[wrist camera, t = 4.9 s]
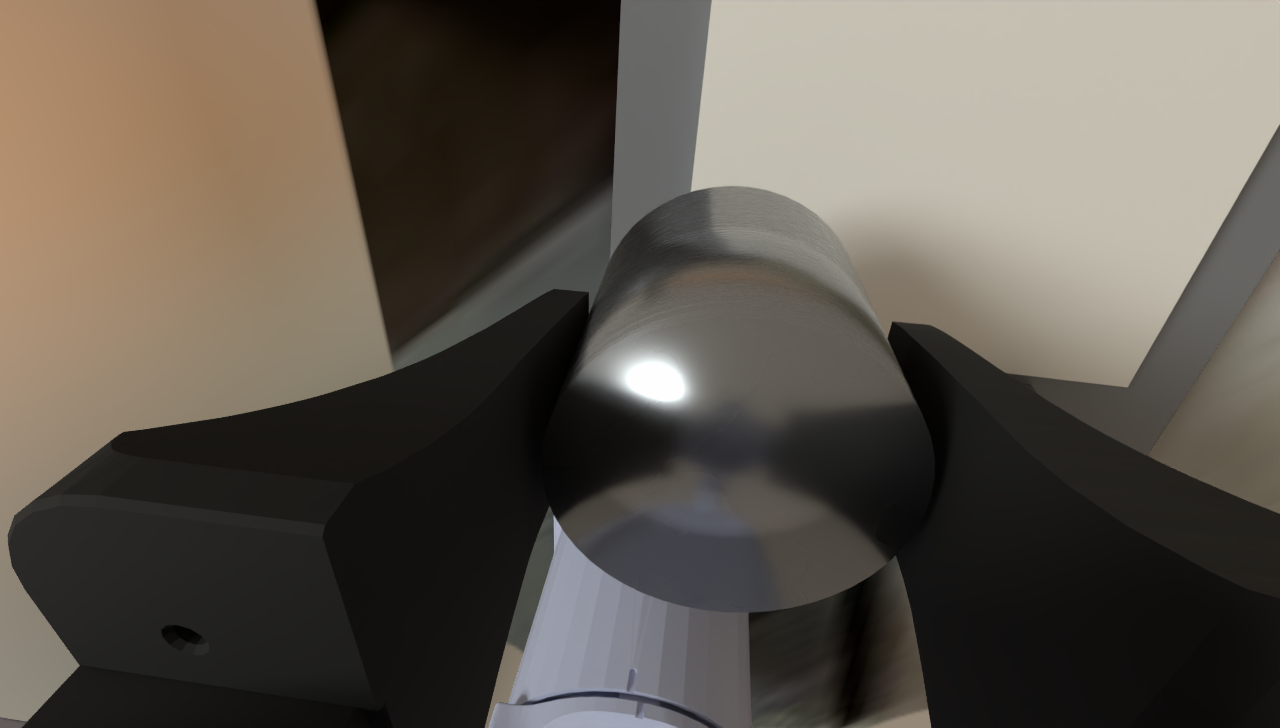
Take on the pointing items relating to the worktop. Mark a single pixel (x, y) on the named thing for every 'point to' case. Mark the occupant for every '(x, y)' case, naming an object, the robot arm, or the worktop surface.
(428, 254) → the worktop surface
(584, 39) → the worktop surface
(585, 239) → the worktop surface
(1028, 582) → the robot arm
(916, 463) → the cylinder
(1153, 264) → the kitchen scale
